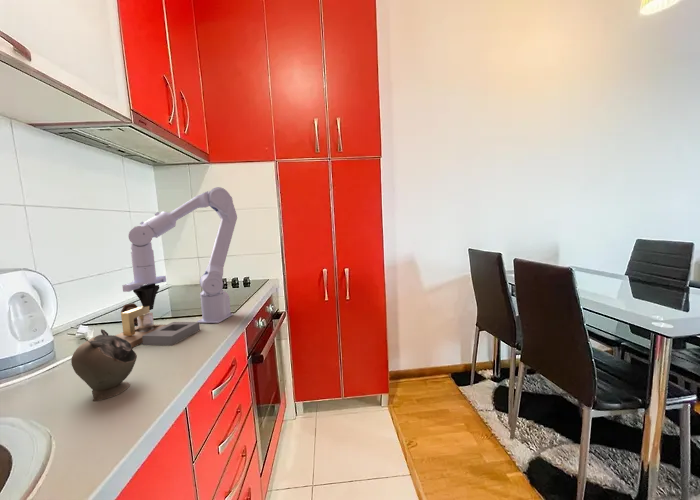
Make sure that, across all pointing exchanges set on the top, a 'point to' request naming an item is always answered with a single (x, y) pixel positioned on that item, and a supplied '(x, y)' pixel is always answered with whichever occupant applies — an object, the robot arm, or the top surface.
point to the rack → (171, 333)
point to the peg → (145, 322)
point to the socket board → (137, 336)
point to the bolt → (130, 307)
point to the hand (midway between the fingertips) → (148, 309)
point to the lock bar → (129, 321)
